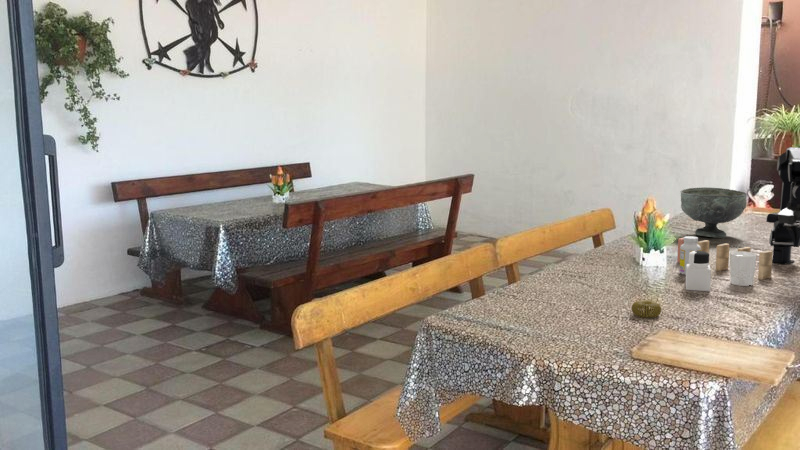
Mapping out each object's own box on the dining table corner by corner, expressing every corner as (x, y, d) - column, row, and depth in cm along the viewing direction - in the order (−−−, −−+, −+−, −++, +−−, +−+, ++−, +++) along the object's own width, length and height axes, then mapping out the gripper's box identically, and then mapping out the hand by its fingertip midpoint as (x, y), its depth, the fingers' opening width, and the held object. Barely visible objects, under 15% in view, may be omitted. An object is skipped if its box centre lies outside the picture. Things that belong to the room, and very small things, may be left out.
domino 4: (744, 272, 258) (746, 246, 257) (749, 272, 257) (750, 247, 255) (736, 274, 256) (737, 248, 254) (740, 275, 254) (741, 249, 253)
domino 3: (724, 268, 265) (725, 243, 263) (728, 268, 263) (729, 244, 262) (715, 270, 262) (716, 245, 261) (719, 270, 261) (720, 245, 259)
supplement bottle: (702, 273, 258) (704, 237, 256) (695, 276, 253) (697, 239, 251) (683, 270, 263) (685, 234, 260) (676, 274, 258) (677, 237, 256)
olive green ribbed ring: (648, 297, 215) (667, 303, 208) (647, 310, 215) (667, 317, 208) (625, 300, 212) (644, 307, 205) (625, 314, 212) (644, 321, 205)
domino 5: (766, 276, 251) (768, 250, 250) (771, 277, 250) (772, 251, 249) (758, 278, 249) (759, 252, 247) (762, 279, 248) (764, 253, 246)
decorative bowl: (748, 233, 329) (751, 188, 325) (739, 243, 307) (742, 195, 304) (686, 229, 343) (688, 186, 339) (673, 238, 321) (675, 192, 318)
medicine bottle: (708, 286, 240) (710, 250, 238) (710, 291, 234) (712, 254, 232) (685, 284, 243) (686, 249, 241) (686, 290, 236) (687, 253, 234)
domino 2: (704, 264, 271) (705, 240, 270) (708, 265, 270) (709, 240, 269) (695, 266, 269) (696, 241, 267) (699, 266, 267) (700, 242, 266)
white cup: (757, 287, 238) (759, 256, 236) (731, 286, 240) (733, 256, 238) (751, 281, 246) (753, 251, 244) (726, 280, 247) (727, 251, 246)
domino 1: (685, 260, 278) (686, 237, 277) (689, 261, 277) (690, 237, 275) (677, 262, 275) (678, 238, 274) (680, 263, 274) (681, 239, 273)
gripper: (757, 198, 240) (754, 245, 243) (814, 204, 224) (811, 254, 227) (777, 195, 246) (775, 241, 248) (835, 201, 230) (831, 250, 232)
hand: (796, 246), depth 239 cm, fingers closed
